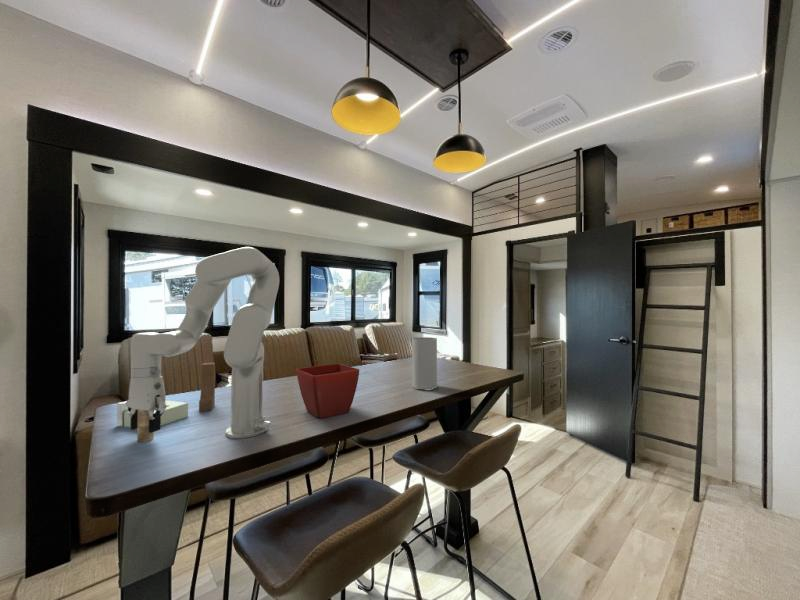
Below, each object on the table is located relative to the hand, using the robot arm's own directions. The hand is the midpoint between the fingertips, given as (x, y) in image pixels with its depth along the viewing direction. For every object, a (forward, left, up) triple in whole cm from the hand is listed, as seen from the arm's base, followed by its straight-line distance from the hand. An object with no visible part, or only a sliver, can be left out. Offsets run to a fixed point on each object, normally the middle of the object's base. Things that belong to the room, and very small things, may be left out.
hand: (145, 429), depth 101 cm
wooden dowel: (0, 0, -3) cm, 3 cm away
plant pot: (-40, -41, -4) cm, 57 cm away
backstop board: (+21, -13, -3) cm, 25 cm away
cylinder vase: (-68, -89, -4) cm, 112 cm away
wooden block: (+9, -30, -4) cm, 32 cm away
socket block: (+13, -13, -3) cm, 19 cm away
